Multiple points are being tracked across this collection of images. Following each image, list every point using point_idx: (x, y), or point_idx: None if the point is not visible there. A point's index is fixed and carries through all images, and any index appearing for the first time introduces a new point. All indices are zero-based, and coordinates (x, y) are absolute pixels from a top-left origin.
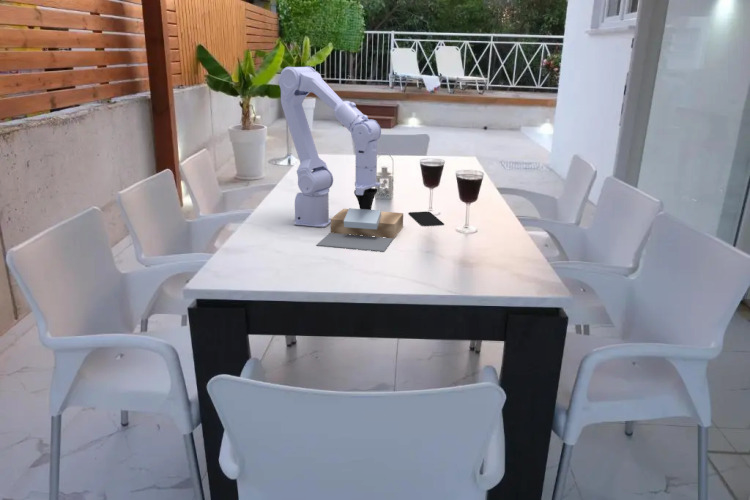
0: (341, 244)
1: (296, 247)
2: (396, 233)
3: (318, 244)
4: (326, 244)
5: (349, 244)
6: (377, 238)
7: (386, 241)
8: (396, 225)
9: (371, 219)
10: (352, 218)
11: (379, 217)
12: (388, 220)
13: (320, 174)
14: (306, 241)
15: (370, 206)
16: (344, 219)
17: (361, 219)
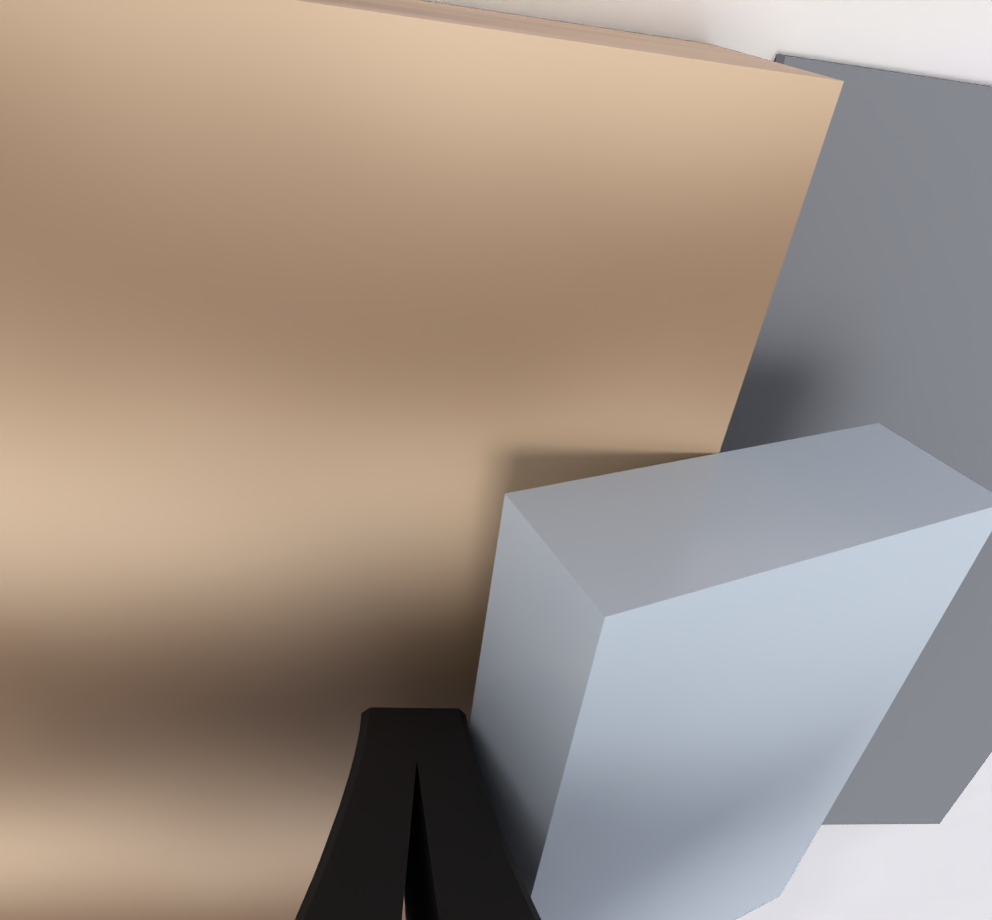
0: (973, 668)
1: (945, 896)
2: (509, 15)
3: (934, 814)
4: (946, 768)
5: (989, 605)
6: (777, 338)
7: (954, 172)
8: (569, 33)
9: (865, 632)
10: (751, 861)
11: (736, 522)
12: (486, 286)
13: None
14: (794, 887)
15: (491, 888)
16: (748, 911)
17: (814, 759)
